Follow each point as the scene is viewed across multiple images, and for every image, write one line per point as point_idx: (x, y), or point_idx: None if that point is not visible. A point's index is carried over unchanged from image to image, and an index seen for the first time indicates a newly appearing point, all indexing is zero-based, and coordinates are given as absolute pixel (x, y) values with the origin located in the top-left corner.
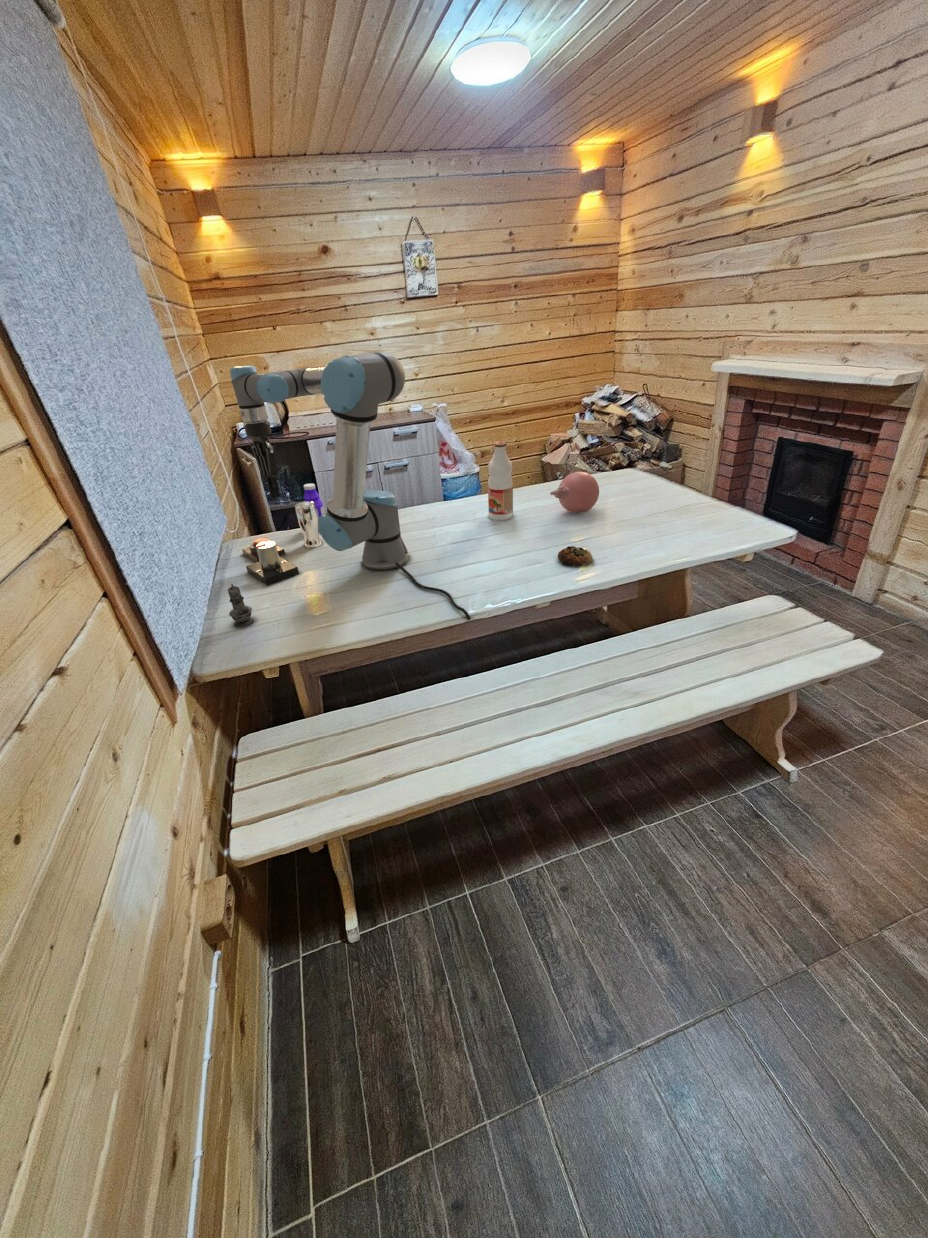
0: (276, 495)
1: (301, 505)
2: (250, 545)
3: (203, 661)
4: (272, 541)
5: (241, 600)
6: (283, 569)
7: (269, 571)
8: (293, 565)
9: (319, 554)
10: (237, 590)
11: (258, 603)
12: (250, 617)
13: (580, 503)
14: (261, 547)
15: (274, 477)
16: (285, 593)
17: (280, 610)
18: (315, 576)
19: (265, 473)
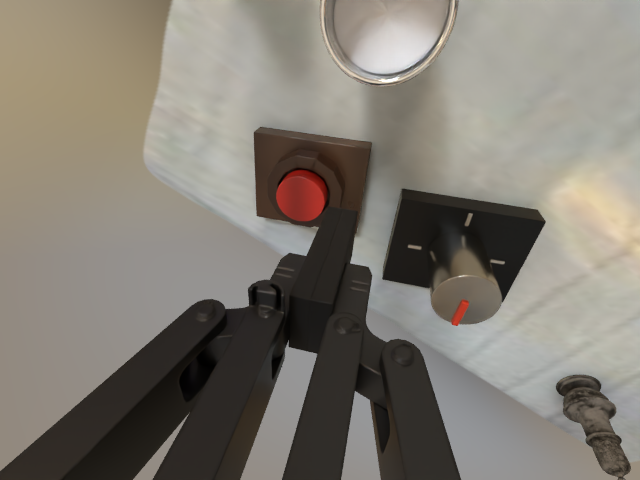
0: (353, 236)
1: (327, 1)
2: (287, 217)
3: None
4: (467, 277)
5: (621, 441)
6: (512, 251)
7: None
8: (523, 221)
9: (497, 67)
10: (630, 467)
11: (546, 339)
12: (579, 376)
13: None
14: (471, 318)
15: (366, 330)
16: (583, 293)
17: (632, 342)
18: (613, 196)
19: (279, 369)
